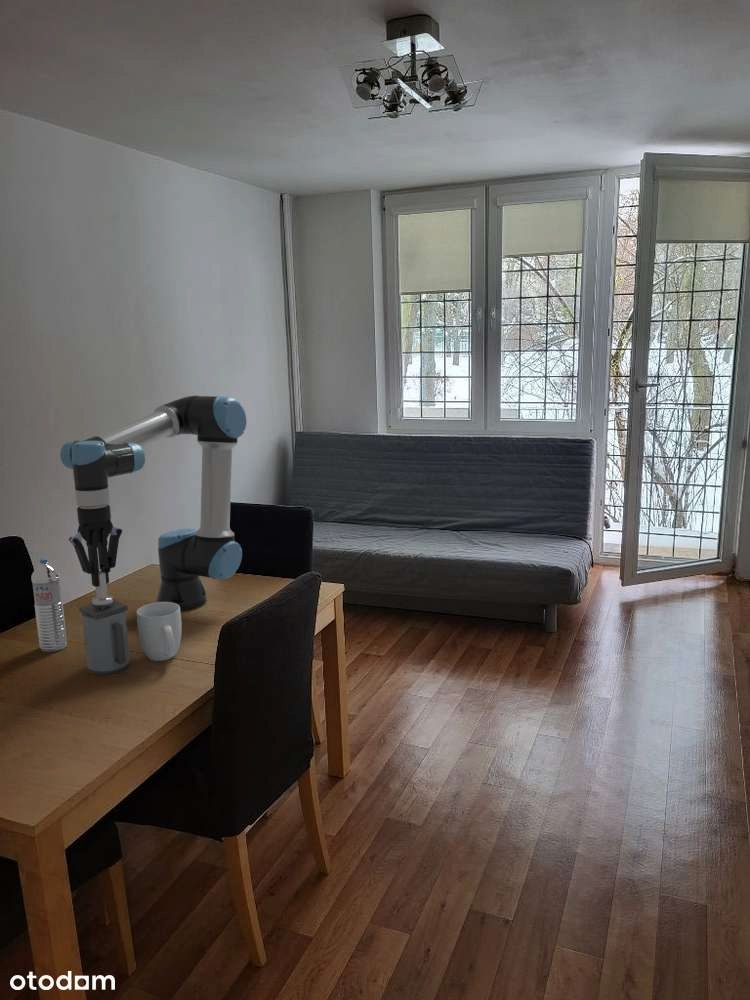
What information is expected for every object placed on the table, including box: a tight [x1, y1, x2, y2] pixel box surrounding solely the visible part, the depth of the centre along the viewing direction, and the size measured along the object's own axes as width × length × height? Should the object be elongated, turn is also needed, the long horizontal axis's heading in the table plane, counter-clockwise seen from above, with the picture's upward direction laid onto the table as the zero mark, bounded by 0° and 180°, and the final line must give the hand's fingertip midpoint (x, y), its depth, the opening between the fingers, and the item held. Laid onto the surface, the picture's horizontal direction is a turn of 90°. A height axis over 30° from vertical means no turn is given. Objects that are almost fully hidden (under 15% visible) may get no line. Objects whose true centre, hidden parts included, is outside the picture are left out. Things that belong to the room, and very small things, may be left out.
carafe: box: [78, 598, 131, 676], centre depth 185 cm, size 10×12×16 cm
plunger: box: [91, 594, 114, 609], centre depth 185 cm, size 6×6×16 cm
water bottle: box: [31, 557, 68, 653], centre depth 196 cm, size 7×7×25 cm
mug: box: [135, 601, 183, 662], centre depth 190 cm, size 15×11×13 cm
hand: (102, 597), depth 183 cm, fingers closed
